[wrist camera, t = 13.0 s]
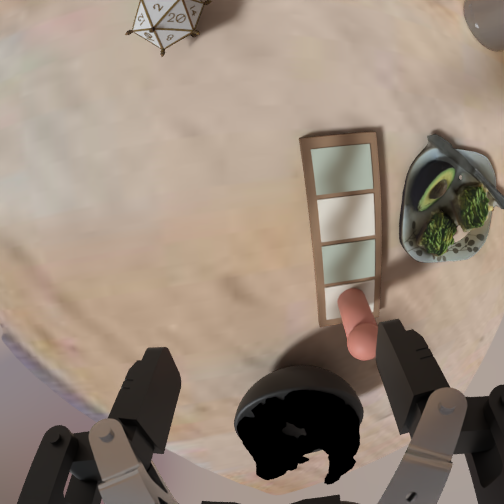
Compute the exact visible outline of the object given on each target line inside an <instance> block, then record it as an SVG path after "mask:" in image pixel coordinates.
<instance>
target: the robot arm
mask: <svg viewBox="0 0 504 504" xmlns="http://www.w3.org/2000/svg"><path fill="white" fill-rule="evenodd" d="M464 15H465V19H466V22H467V24H468V26H469V28H470V30H471V31H472V33H473V35H474V36H475V37H476V38H477V40H478V41H479V42H480V43H481V44H482V45H484V46H485V47H486V48H488V49H490V50H492V51H504V0H466V1H465V3H464ZM376 363H377V367H378V370H379V373H380V376H381V378H382V381H383V384H384V387H385V390H386V393H387V396H388V399H389V402H390V405H391V408H392V411H393V414H394V417H395V420H396V423H397V426H398V430H399V433H400V435H401V434H405V433H408V432H409V433H410V436H411V442H410V444H409V446H408V448H407V450H406V452H405V455H404V456H403V458H402V460H401V462H400V464H399V467H398V468H397V470H396V472H395V474H394V476H393V478H392V480H391V481H390V483H389V485H388V487H387V488H386V490H385V492H384V494H383V495H382V497H381V499H380V500H379V502H378V504H437V502H438V500H439V497H440V495H441V493H442V491H443V488H444V486H445V483H446V481H447V479H448V476H449V473H450V471H451V468H452V462H451V459H452V456H453V454H465V457H466V460H467V463H468V467H469V470H470V474H471V477H472V481H473V484H474V489H475V493H476V496H477V501H478V504H504V385H499V386H497V387H495V388H494V389H493V390H492V392H491V393H490V395H489V396H484V397H465V396H464V395H463V394H462V393H461V392H460V391H459V390H457V389H454V388H450V386H449V384H448V382H447V380H446V379H445V377H444V375H443V373H442V371H441V369H440V367H439V365H438V363H437V362H436V360H435V358H434V357H433V354H432V352H431V351H430V349H428V345H427V344H426V342H425V340H424V338H423V337H422V336H421V335H420V334H418V333H417V332H416V331H414V330H413V329H412V330H408V331H406V330H405V329H404V327H403V325H402V323H401V321H400V320H399V319H395V320H390V321H385V322H380V323H379V325H378V334H377V344H376ZM180 389H181V377H180V373H179V371H178V369H177V367H176V365H175V362H174V360H173V358H172V356H171V354H170V351H169V349H168V348H167V347H155V348H147V350H146V352H145V354H144V356H143V358H142V360H138V361H137V362H136V363H135V364H134V365H133V366H132V367H131V368H130V369H129V371H128V373H127V375H126V377H125V381H124V382H123V384H122V386H121V389H120V391H119V393H118V396H117V398H116V400H115V403H114V405H113V407H112V410H111V412H110V414H109V417H108V419H103V420H100V421H98V422H97V423H96V424H94V426H93V427H92V428H91V430H90V431H88V432H81V433H74V434H72V433H71V432H70V430H68V428H66V427H65V426H62V425H59V426H54V427H52V428H50V429H49V430H48V431H47V432H46V433H45V435H44V437H43V439H42V441H41V444H40V446H39V448H38V450H37V453H36V455H35V457H34V460H33V462H32V465H31V467H30V470H29V473H28V475H27V478H26V481H25V483H24V485H23V488H22V491H21V494H20V497H19V499H18V502H17V504H100V503H101V499H103V502H104V504H179V503H178V502H177V501H176V500H175V499H174V497H173V496H172V494H171V493H170V491H169V489H168V488H167V486H166V484H165V483H164V481H163V479H162V477H161V476H160V474H159V472H158V470H157V468H156V467H155V465H154V463H153V461H152V460H151V459H152V455H153V453H157V454H164V451H165V447H166V443H167V439H168V435H169V431H170V427H171V423H172V419H173V415H174V412H175V408H176V404H177V400H178V396H179V393H180ZM69 472H71V473H72V476H71V479H70V482H69V486H68V489H67V492H66V495H65V498H64V495H63V491H64V487H65V484H66V481H67V478H68V474H69ZM201 504H238V503H235V502H210V501H202V503H201ZM291 504H358V503H354V502H348V501H340V495H333V496H327V497H320V498H312V499H305V500H301V501H298V502H295V503H291Z"/></svg>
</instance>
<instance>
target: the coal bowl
mask: <svg viewBox="0 0 504 504" xmlns="http://www.w3.org/2000/svg"><path fill="white" fill-rule="evenodd" d="M362 419H363V407H362V404H361V402H360V399H359V397H358V396H357V394H356V393H355V391H354V390H353V389H352V388H351V386H350V385H349V384H348V383H347V382H346V381H344V380H343V379H342V378H341V377H339V376H337V375H336V374H334V373H332V372H330V371H328V370H325V369H322V368H318V367H313V366H292V367H286V368H282V369H279V370H277V371H274V372H272V373H270V374H268V375H266V376H265V377H263V378H262V379H260V380H259V381H258V382H256V383H255V384H254V385H253V386H252V387H251V388H250V389H249V390H248V392H247V393H246V394H245V396H244V397H243V399H242V401H241V402H240V404H239V406H238V409H237V412H236V415H235V420H234V427H235V431H236V433H237V435H238V436H239V437H240V439H241V440H242V442H243V445H244V446H245V447H246V449H247V450H248V451H249V453H250V454H251V455H252V456H253V459H254V461H255V462H256V468H257V469H256V475H258V476H259V477H261V478H262V479H265V480H270V479H274V478H278V477H279V476H282V475H284V474H285V473H286V471H288V470H291V471H292V470H294V469H296V468H297V465H298V463H299V464H301V463H304V462H306V461H309V459H308V458H305V457H303V455H305V454H308V453H312V452H316V451H320V450H324V451H325V452H326V453H327V454H329V456H328V458H329V472H328V474H327V476H326V478H325V482H324V483H326V484H332V483H334V482H336V481H337V480H339V478H340V476H341V475H343V474H345V473H346V472H347V471H349V470H350V469H352V468H353V466H354V464H355V463H356V461H355V460H354V459H353V456H354V455H355V454H356V453H357V451H358V448H359V445H360V441H359V440H360V435H359V426H360V424H361V422H362Z"/></svg>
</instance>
